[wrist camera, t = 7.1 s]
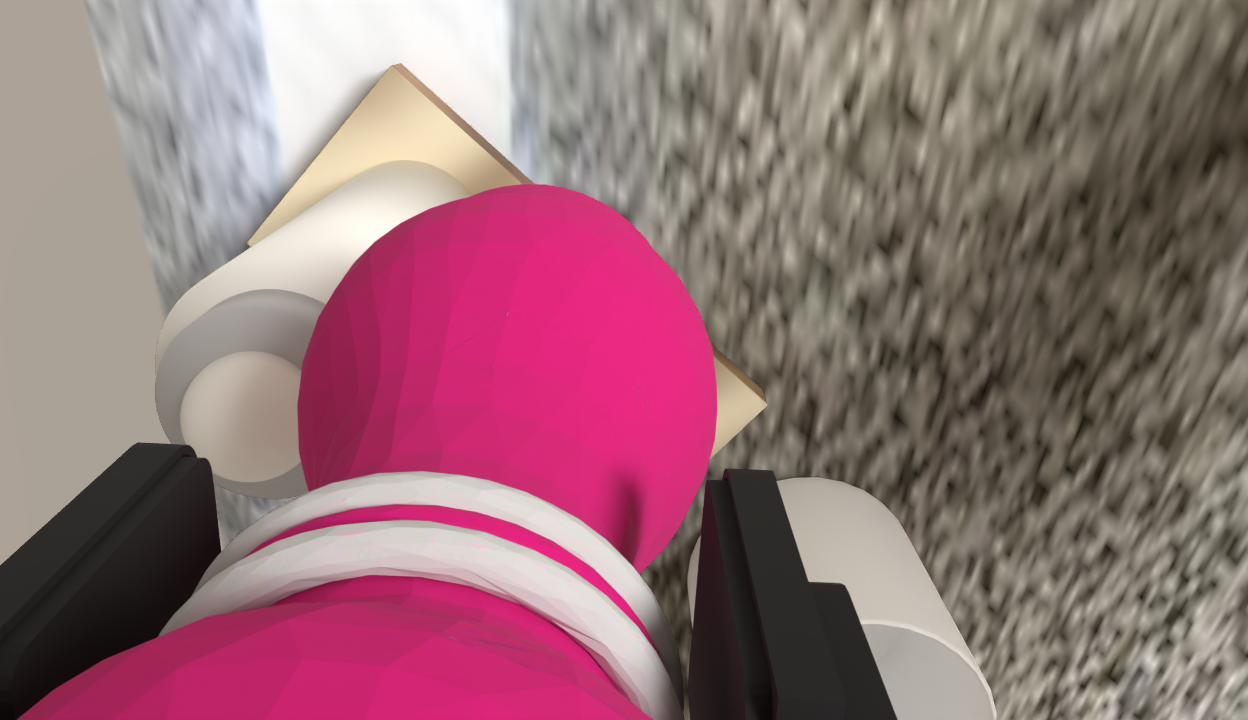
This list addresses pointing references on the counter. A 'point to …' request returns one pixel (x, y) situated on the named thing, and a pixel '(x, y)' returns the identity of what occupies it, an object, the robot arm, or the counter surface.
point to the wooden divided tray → (434, 134)
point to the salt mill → (274, 328)
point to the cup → (883, 599)
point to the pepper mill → (459, 491)
